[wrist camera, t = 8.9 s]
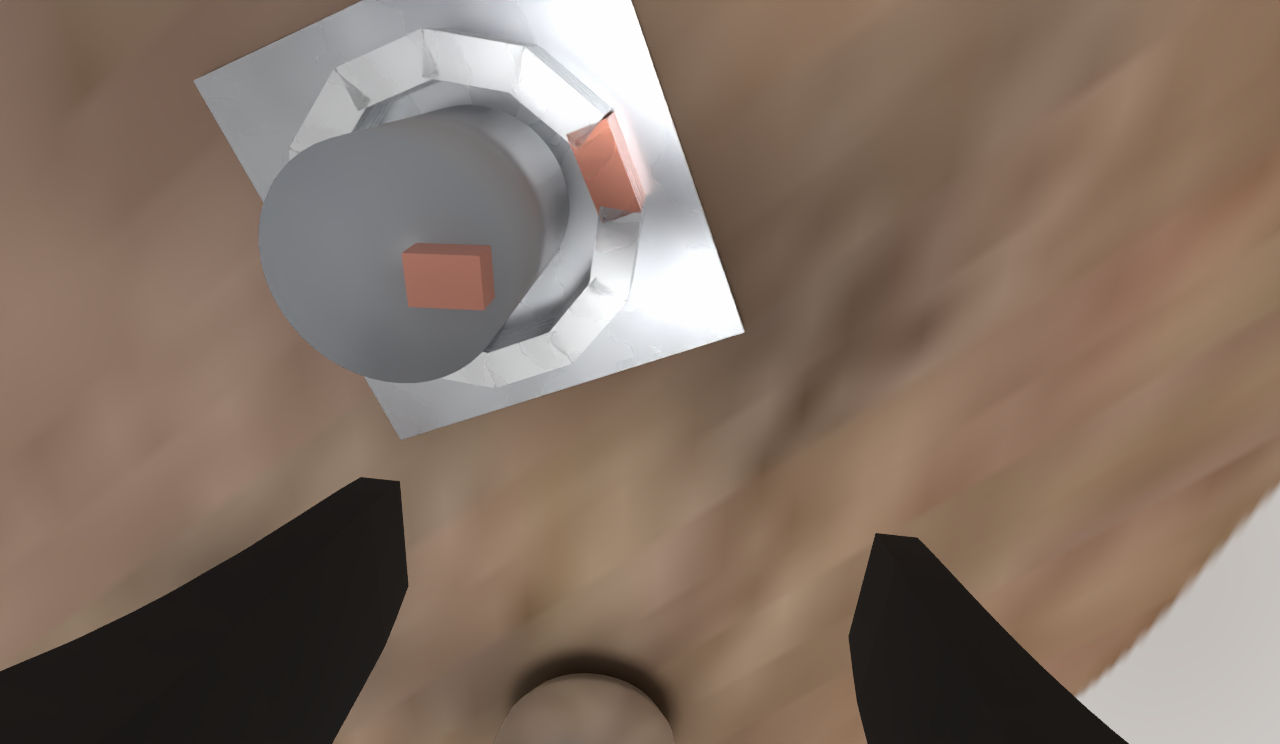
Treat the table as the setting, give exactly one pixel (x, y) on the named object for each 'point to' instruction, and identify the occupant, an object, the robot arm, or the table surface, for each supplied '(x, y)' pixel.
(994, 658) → the robot arm
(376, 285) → the grey cylinder
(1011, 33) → the table surface
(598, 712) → the plastic bottle
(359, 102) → the duct collar
